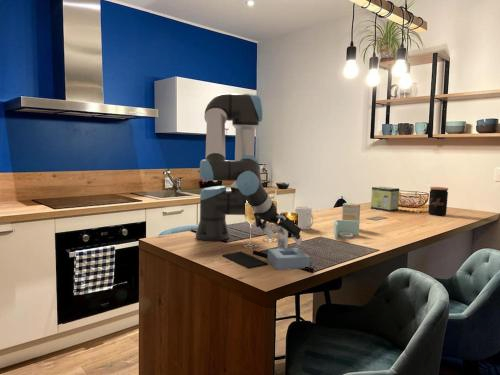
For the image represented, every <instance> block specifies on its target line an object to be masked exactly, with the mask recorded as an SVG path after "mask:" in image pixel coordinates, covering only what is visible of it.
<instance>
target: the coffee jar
mask: <svg viewBox="0 0 500 375" xmlns="http://www.w3.org/2000/svg"><path fill="white" fill-rule="evenodd" d="M429 189H430V191H429V197H428V198H429V199H428V215H430V216H434V215H435V216H436V217H445V216H446V215H447V208H448V207H447V206H448V198H449V192H448V190H449V188H448V187H443V186H430V187H429ZM435 216H434V217H435Z"/></svg>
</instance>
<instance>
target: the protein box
mask: <svg viewBox="0 0 500 375" xmlns="http://www.w3.org/2000/svg"><path fill="white" fill-rule="evenodd" d="M399 202H400V188H398V187H397V188H395V187H386V186H372V187H371V197H370V209H371V210H375V209H376V210H377V211H381V210H382V211H383V212H387V213H392V212H398V211H399V204H400V203H399ZM376 210H375V211H376ZM397 210H398V211H397Z"/></svg>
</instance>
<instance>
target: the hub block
mask: <svg viewBox="0 0 500 375" xmlns="http://www.w3.org/2000/svg"><path fill="white" fill-rule="evenodd" d="M267 261H268V262H269V263H270V264H271V265H272V267H274V269H276V270H295V269H296V270H297V269H306V268H305V267H309V268H310V265H311V256H309V255H308V254H307V253H305V252H304V251H303V250H302V249H300V248H299V247H287V248H281V249H277V248H268V249H267Z"/></svg>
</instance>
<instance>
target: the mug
mask: <svg viewBox="0 0 500 375" xmlns="http://www.w3.org/2000/svg"><path fill="white" fill-rule="evenodd" d="M294 208H295V209H294V214H295V213H298V227H299V228H300V229H301V230H310V229H311V228H312V226H313V224H314V216H313V213H312V211H313V210H312V207H309V206H295V207H294Z"/></svg>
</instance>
